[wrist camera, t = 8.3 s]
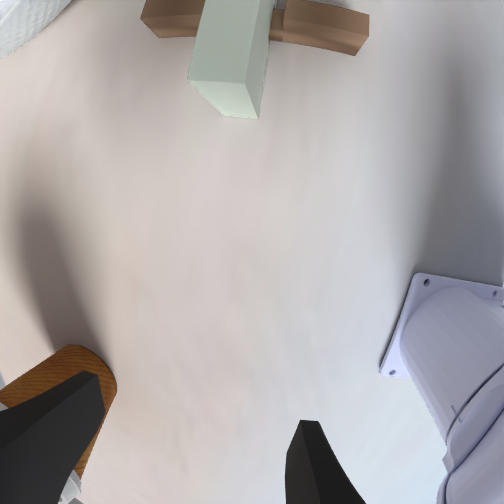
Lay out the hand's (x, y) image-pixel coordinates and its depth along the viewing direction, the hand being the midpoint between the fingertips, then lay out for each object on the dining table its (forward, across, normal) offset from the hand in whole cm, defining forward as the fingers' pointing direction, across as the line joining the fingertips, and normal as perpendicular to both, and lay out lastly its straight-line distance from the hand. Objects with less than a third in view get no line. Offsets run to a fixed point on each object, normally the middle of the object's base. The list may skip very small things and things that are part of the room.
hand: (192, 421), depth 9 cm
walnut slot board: (+10, +1, -17) cm, 20 cm away
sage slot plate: (+10, +1, -17) cm, 20 cm away
